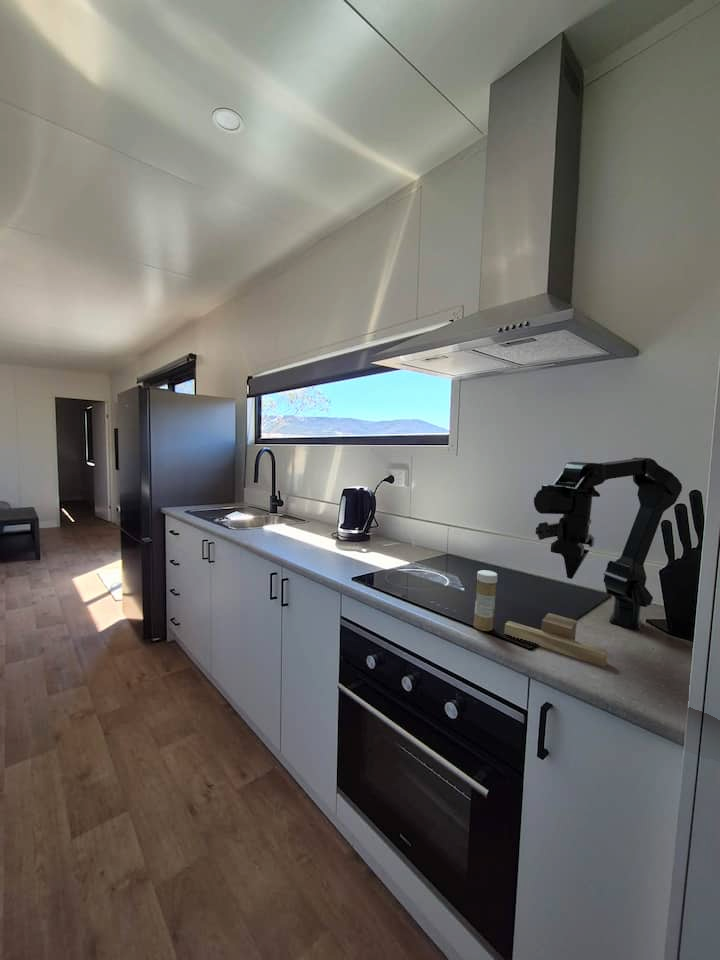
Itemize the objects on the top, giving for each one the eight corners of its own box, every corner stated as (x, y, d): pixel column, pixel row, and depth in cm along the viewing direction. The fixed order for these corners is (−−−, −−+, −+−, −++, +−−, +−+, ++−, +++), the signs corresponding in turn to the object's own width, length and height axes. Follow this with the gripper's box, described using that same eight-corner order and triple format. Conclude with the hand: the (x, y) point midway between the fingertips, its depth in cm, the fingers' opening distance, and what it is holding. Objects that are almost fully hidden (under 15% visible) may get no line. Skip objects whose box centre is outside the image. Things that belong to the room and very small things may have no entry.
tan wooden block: (546, 633, 95) (548, 612, 94) (574, 642, 91) (576, 620, 91) (539, 641, 90) (541, 620, 90) (569, 651, 86) (571, 628, 86)
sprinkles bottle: (478, 621, 99) (483, 568, 98) (496, 628, 96) (501, 573, 95) (469, 627, 95) (474, 571, 94) (487, 633, 92) (492, 576, 91)
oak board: (507, 630, 94) (508, 620, 94) (606, 662, 82) (607, 650, 82) (504, 634, 92) (505, 623, 92) (604, 667, 80) (605, 655, 80)
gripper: (550, 507, 108) (544, 563, 109) (530, 512, 94) (524, 578, 95) (597, 513, 101) (590, 573, 103) (584, 520, 87) (576, 590, 88)
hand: (569, 578), depth 97 cm, fingers closed
